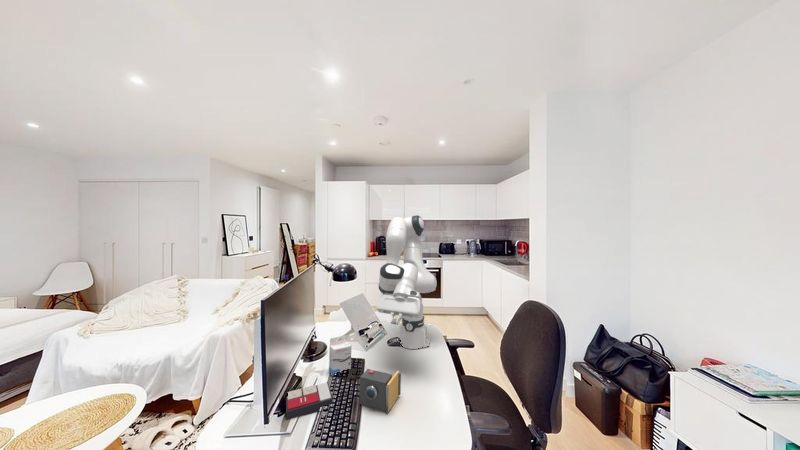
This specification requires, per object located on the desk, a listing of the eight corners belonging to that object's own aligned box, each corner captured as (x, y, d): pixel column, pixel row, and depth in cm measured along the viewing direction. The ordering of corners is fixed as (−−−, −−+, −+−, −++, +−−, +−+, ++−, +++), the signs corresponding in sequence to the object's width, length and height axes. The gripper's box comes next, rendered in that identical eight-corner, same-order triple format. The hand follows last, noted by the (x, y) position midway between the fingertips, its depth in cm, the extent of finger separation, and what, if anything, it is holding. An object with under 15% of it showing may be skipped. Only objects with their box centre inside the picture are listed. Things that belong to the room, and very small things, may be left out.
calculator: (285, 390, 97) (328, 380, 103) (286, 402, 97) (328, 391, 103) (286, 409, 87) (332, 396, 93) (286, 422, 87) (333, 408, 93)
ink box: (332, 377, 112) (333, 342, 112) (328, 372, 116) (329, 338, 117) (351, 371, 117) (351, 338, 117) (347, 366, 121) (347, 334, 121)
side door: (396, 394, 100) (397, 370, 101) (400, 395, 100) (400, 371, 100) (384, 412, 90) (385, 386, 90) (388, 414, 90) (389, 387, 90)
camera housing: (367, 395, 100) (368, 367, 101) (391, 402, 97) (392, 372, 97) (357, 407, 93) (358, 377, 94) (383, 415, 90) (383, 383, 90)
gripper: (380, 288, 122) (369, 316, 113) (422, 293, 115) (415, 323, 106) (384, 296, 127) (374, 323, 117) (425, 301, 119) (418, 330, 110)
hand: (394, 323), depth 111 cm, fingers closed
